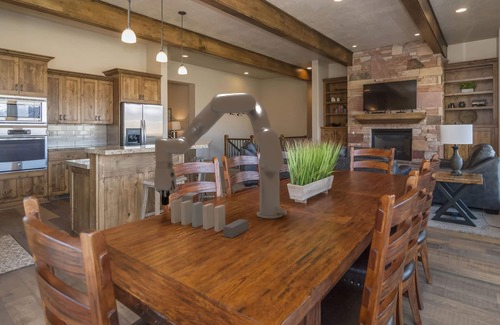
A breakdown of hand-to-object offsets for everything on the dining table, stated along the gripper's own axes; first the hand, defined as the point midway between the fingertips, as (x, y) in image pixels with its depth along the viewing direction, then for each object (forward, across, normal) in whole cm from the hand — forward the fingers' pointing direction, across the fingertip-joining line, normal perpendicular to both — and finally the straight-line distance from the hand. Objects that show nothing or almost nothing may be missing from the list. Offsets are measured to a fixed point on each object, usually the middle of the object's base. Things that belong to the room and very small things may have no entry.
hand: (165, 204), depth 143 cm
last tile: (+7, -31, 0) cm, 32 cm away
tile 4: (+7, -25, 0) cm, 26 cm away
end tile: (+7, -7, 0) cm, 10 cm away
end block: (+7, -39, 0) cm, 39 cm away
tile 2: (+7, -13, 0) cm, 15 cm away
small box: (+7, -5, -12) cm, 15 cm away
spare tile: (+7, -19, 0) cm, 20 cm away
